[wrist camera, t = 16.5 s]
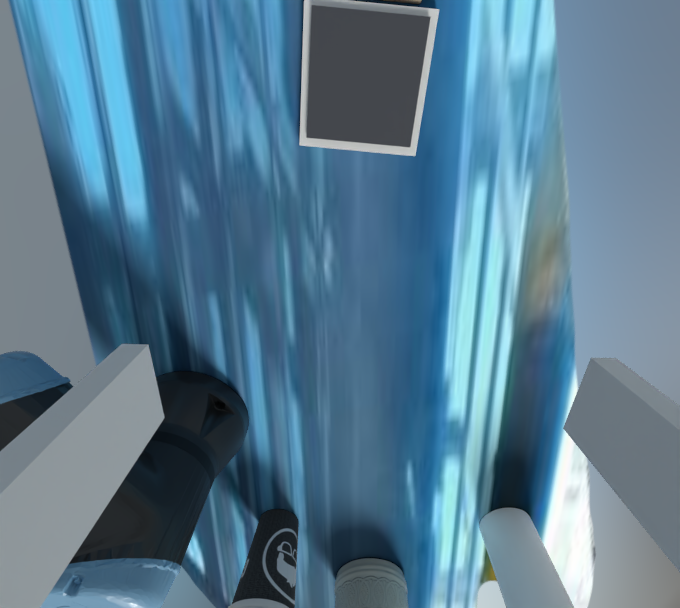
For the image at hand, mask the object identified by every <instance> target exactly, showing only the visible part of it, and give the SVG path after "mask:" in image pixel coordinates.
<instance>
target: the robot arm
mask: <svg viewBox="0 0 680 608" xmlns="http://www.w3.org/2000/svg"><path fill="white" fill-rule="evenodd" d="M69 382H70V379H69V378H67V377H63V376H61V375H60V374H59V373H58V372H56V371H55V370H54V369H53V368H52V367H50V366H49V365H48V364H47V363H46V362H44V361H43V360H42V359H41V358H40V357H38V356H36V355H35V354H32V353H29V352H24V351H13V352H8V353H4V354H1V355H0V608H161V607H162V604H163V602H164V600H165V597H166V595H167V594H168V592H169V589H170V587H171V585H172V583H173V581H174V579H175V577H176V576H177V575H178V574H179V571H180V566H181V563H182V560H183V558H184V555H185V553H186V550H187V548H188V545H189V542H190V540H191V537H192V535H193V532H194V530H195V527H196V525H197V522H198V519H199V517H200V514H201V512H202V509H203V507H204V504H205V501H206V499H207V496H208V494H209V491H210V489H211V486H212V484H213V481H214V479H215V478H216V477H217V475H218V474H219V473H220V472H221V471H222V470H223V468H224V467H225V466H226V465H227V464H228V463H229V461H230V460H231V459H232V458H233V457H234V455H235V454H236V453H237V452H238V451H239V449H240V447H241V446H242V444H243V441H244V439H245V436H246V433H247V430H248V426H249V417H248V412H247V409H246V407H245V405H244V403H243V401H242V400H241V398H240V397H239V396H238V395H237V394H236V393H235V392H234V391H233V390H232V389H231V388H230V387H229V386H227V385H226V384H224V383H223V382H221V381H219V380H217V379H215V378H213V377H211V376H208V375H205V374H201V373H197V372H189V371H178V372H171V373H167V374H164V375H161V376H159V377H157V378H156V376H155V372H154V367H153V363H152V358H151V354H150V349H149V345H148V344H121V345H120V346H119V347H118V348H117V349H115V350H114V351H113V352H112V353H111V354H110V355H109V356H108V357H106V358H105V359H104V360H103V361H102V362H101V363H100V364H99V365H97V366H96V367H95V368H94V369H93V370H92V371H91V372H89V373H88V374H87V375H86V376H85V377H84V378H83V379H82V380H80V381H79V382H78V383H77V384H76V385H75V386H74V387H73V386H72V385H71V384H70V383H69ZM563 429H564V430H565V431H566V432H567V433H568V435H569V436H570V437H571V438H572V440H573V441H574V442H575V443H576V445H577V446H578V447H579V448H580V450H581V451H582V452H583V453H584V454H585V456H586V457H587V458H588V459H589V461H590V462H591V463H592V464H593V466H594V467H595V468H596V469H597V470H598V472H599V473H600V474H601V475H602V477H603V478H604V479H605V480H606V482H607V483H608V484H609V485H610V487H611V488H612V489H613V490H614V492H615V493H616V494H617V495H618V497H619V498H620V499H621V500H622V501H623V503H624V504H625V505H626V506H627V508H628V509H629V510H630V511H631V513H632V514H633V515H634V516H635V517H636V519H637V520H638V521H639V522H640V524H641V525H642V526H643V527H644V528H645V530H646V531H647V532H648V533H649V535H650V536H651V537H652V538H653V540H654V541H655V542H656V543H657V545H658V546H659V547H660V548H661V550H662V551H663V552H664V553H665V555H666V556H667V557H668V558H669V560H670V561H671V562H672V563H673V564H674V566H675V567H676V568H677V569H678V571H679V572H680V406H679V405H678V404H677V403H675V402H674V401H672V400H671V399H670V398H669V397H667V396H666V395H665V394H663V393H662V392H661V391H659V390H658V389H656V388H655V387H654V386H652V385H651V384H650V383H648V382H647V381H646V380H644V379H643V378H642V377H640V376H639V375H638V374H636V373H635V372H634V371H632V370H631V369H630V368H628V367H627V366H626V365H624V364H623V363H622V362H620V361H619V360H618V359H616V358H591V359H590V362H589V364H588V367H587V369H586V372H585V374H584V377H583V379H582V382H581V385H580V387H579V390H578V392H577V395H576V397H575V400H574V402H573V405H572V407H571V410H570V413H569V415H568V418H567V420H566V423H565V425H564V428H563Z"/></svg>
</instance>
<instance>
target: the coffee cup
mask: <svg viewBox="0 0 680 608" xmlns="http://www.w3.org/2000/svg"><path fill="white" fill-rule="evenodd" d="M298 524H299V523H298V519H297V517H296V516H295V515H294V514H292V513H291V512H289V511H286V510H282V509H273V510H269V511H266V512H265V513H263V514H262V515H261V517H260V520H259V523H258V526H257V529H256V532H255V535H254V538H253V542H252V545H251V548H250V551H249V554H248V557H247V560H246V563H245V566H244V569H243V572H242V575H241V578H240V581H239V584H238V587H237V590H236V593H235V596H234V599H233V602H232V605H230V606H229V607H228V608H294V606H295V584H296V564H297V544H298Z"/></svg>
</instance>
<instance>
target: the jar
mask: <svg viewBox="0 0 680 608" xmlns="http://www.w3.org/2000/svg"><path fill="white" fill-rule="evenodd" d="M335 596H336V598H335V608H408V600H407V585H406V581H405V579H404V574H403V572H402V570H401V569H400V568H399V567H398V566H396V565H395V564H393V563H391V562H389V561H386V560H382V559H376V558H363V559H358V560H354V561H351V562H349V563H347V564H345V565H344V566H343V567H341V568H340V570H339V571H338V573H337V578H336V581H335Z"/></svg>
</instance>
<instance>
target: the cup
mask: <svg viewBox="0 0 680 608" xmlns="http://www.w3.org/2000/svg"><path fill="white" fill-rule="evenodd" d="M479 528H480V531H481V534H482V537H483V540H484V543H485V546H486V549H487V552H488V555H489V558H490V561H491V564H492V567H493V570H494V572H495V575H496V578H497V581H498V584H499V587H500V590H501V593H502V596H503V599H504V602H505V605H506V608H574V606H573V604H572V602H571V600H570V598H569V596H568V594H567V592H566V590H565V588H564V586H563V584H562V582H561V580H560V578H559V576H558V573H557V571H556V569H555V567H554V565H553V563H552V561H551V559H550V557H549V555H548V553H547V551H546V549H545V547H544V545H543V543H542V541H541V539H540V536H539V534H538V532H537V530H536V528H535V526H534V524H533V522H532V520H531V518H530V516H529V515H528V514H527V513H526V512H525V511H523V510H521V509H518V508H500V509H496V510H494V511H491V512H489V513H488V514H486V515H485V516H484V517H483V518H482V519H481V521H480V524H479Z"/></svg>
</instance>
